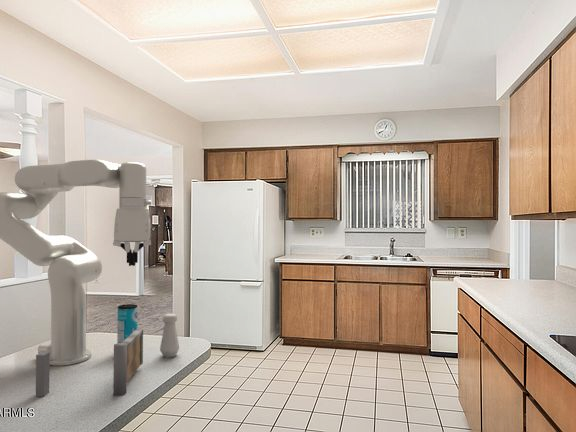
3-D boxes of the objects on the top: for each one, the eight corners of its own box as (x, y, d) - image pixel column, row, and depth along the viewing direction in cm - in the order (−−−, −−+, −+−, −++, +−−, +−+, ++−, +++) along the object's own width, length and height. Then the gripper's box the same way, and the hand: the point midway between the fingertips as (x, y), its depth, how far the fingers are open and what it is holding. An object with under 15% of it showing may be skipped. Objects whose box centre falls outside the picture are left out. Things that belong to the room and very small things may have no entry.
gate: (126, 383, 105) (127, 345, 105) (118, 383, 105) (118, 345, 105) (142, 363, 120) (143, 329, 120) (135, 363, 120) (136, 329, 120)
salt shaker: (181, 353, 134) (182, 312, 134) (175, 359, 128) (175, 316, 128) (164, 352, 135) (164, 312, 135) (156, 358, 129) (157, 316, 129)
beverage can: (133, 356, 131) (134, 308, 131) (114, 356, 131) (114, 308, 131) (139, 350, 137) (139, 304, 137) (120, 350, 136) (121, 304, 137)
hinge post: (111, 395, 102) (112, 346, 102) (115, 390, 105) (116, 342, 105) (124, 395, 102) (124, 346, 102) (128, 390, 105) (128, 342, 105)
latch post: (35, 396, 101) (36, 355, 101) (40, 392, 103) (41, 352, 103) (44, 396, 101) (44, 355, 101) (49, 392, 103) (49, 351, 103)
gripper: (159, 204, 131) (158, 263, 131) (107, 204, 127) (107, 264, 127) (158, 204, 124) (157, 266, 123) (103, 203, 120) (103, 267, 119)
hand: (132, 265), depth 125 cm, fingers closed
